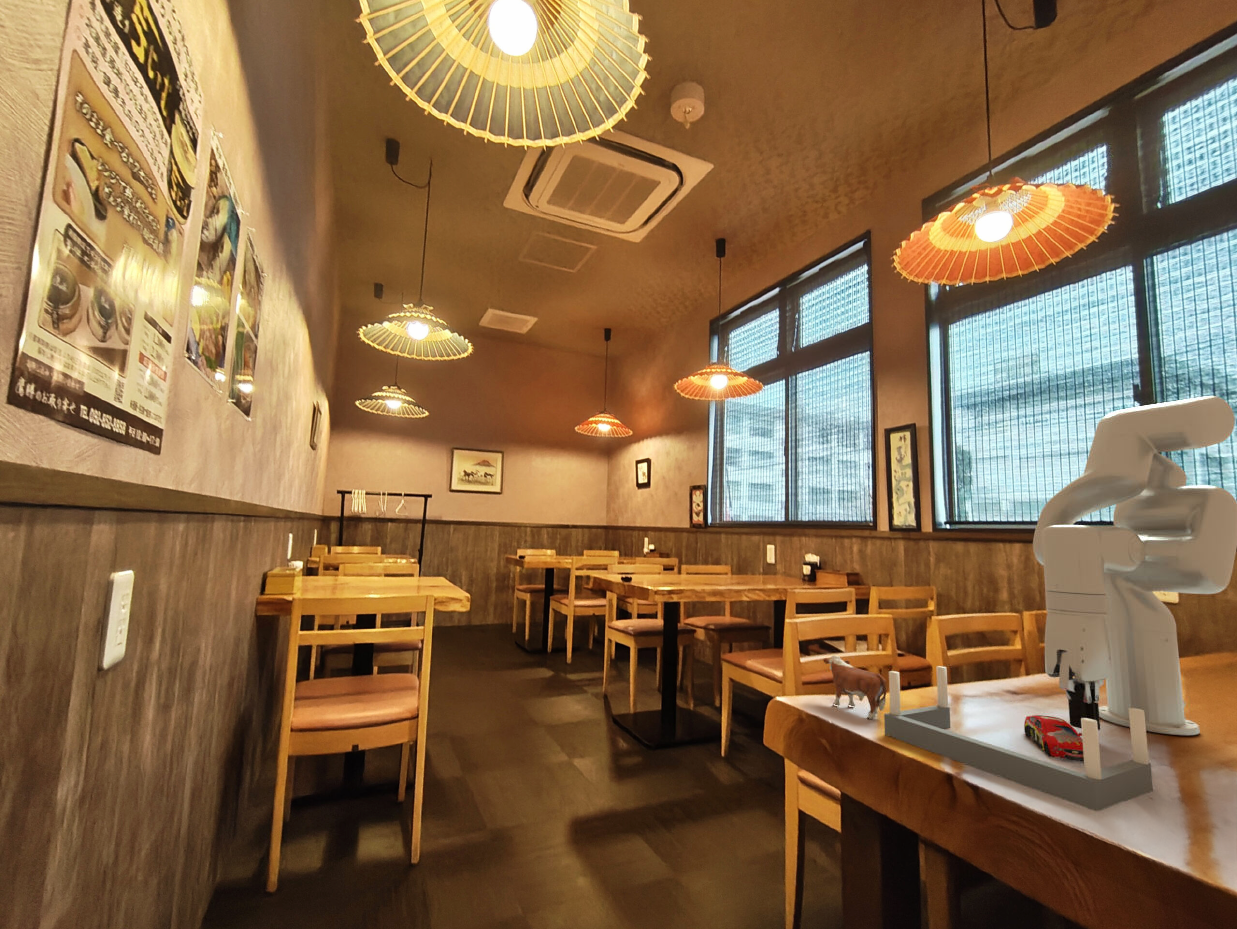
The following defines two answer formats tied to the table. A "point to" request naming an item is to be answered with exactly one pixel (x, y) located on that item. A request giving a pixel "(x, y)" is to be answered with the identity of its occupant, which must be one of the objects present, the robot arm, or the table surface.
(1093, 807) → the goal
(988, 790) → the table surface
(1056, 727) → the race car
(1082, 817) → the table surface
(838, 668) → the bull figurine
